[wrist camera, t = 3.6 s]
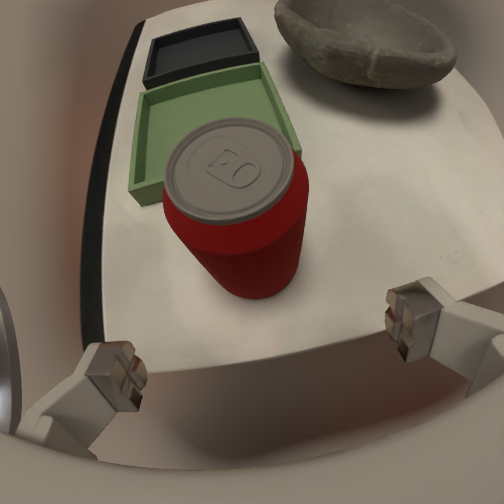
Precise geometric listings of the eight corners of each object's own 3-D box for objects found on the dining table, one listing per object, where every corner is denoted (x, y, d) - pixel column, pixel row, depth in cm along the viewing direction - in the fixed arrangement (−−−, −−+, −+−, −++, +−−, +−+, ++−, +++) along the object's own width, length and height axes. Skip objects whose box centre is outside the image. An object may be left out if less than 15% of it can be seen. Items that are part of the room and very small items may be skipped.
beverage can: (248, 205, 24) (221, 92, 12) (315, 250, 22) (343, 146, 10) (196, 266, 22) (120, 184, 11) (262, 319, 20) (236, 277, 9)
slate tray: (149, 96, 31) (142, 81, 29) (156, 51, 37) (152, 39, 34) (260, 68, 31) (258, 51, 28) (242, 29, 36) (240, 16, 34)
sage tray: (141, 206, 25) (127, 191, 22) (147, 108, 30) (139, 92, 28) (300, 169, 24) (302, 149, 22) (265, 79, 30) (263, 61, 27)
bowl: (460, 140, 24) (494, 82, 15) (276, 117, 27) (270, 36, 18) (408, 48, 32) (419, 3, 22) (279, 32, 35) (275, -18, 25)
